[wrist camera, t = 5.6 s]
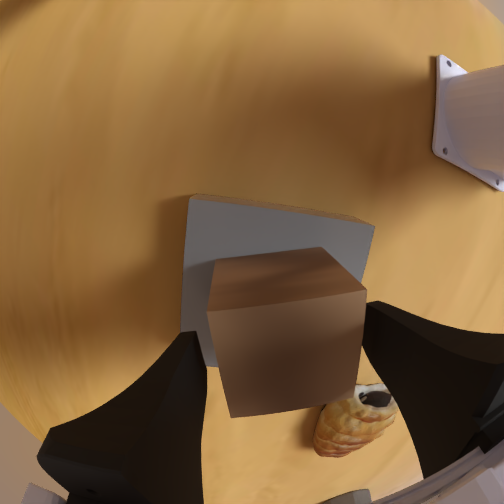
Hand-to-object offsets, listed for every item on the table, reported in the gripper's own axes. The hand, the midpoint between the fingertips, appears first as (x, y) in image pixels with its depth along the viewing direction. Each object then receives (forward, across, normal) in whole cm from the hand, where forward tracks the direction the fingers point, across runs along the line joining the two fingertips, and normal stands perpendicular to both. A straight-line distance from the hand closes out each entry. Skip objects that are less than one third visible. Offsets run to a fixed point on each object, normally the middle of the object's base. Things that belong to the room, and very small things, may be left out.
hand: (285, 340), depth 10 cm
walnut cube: (+3, 0, 0) cm, 3 cm away
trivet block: (+6, 0, 0) cm, 6 cm away
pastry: (+6, -6, +14) cm, 17 cm away
